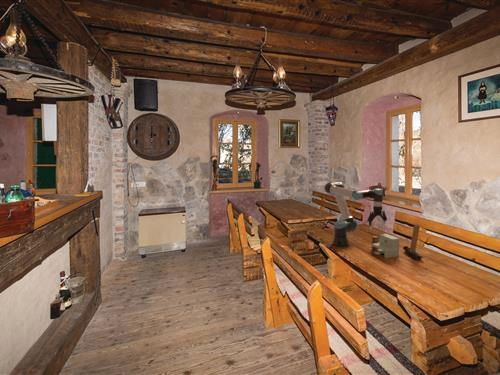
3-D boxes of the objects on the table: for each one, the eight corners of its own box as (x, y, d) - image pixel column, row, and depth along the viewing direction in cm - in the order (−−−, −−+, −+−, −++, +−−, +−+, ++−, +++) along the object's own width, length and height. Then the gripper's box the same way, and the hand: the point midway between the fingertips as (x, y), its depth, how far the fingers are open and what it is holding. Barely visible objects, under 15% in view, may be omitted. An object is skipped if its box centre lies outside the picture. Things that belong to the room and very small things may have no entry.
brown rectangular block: (371, 248, 254) (372, 236, 252) (375, 248, 255) (375, 236, 254) (386, 255, 237) (387, 242, 235) (390, 254, 238) (390, 241, 237)
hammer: (422, 262, 225) (428, 230, 216) (416, 262, 225) (421, 230, 216) (408, 250, 244) (413, 219, 235) (402, 250, 244) (407, 220, 235)
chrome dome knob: (372, 253, 243) (372, 251, 243) (378, 252, 245) (378, 250, 245) (377, 255, 238) (377, 253, 238) (383, 254, 239) (383, 253, 239)
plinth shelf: (372, 252, 246) (372, 235, 244) (384, 250, 250) (385, 233, 248) (385, 258, 230) (386, 240, 228) (398, 256, 234) (399, 238, 233)
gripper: (369, 207, 238) (368, 230, 241) (392, 205, 245) (391, 228, 248) (363, 206, 245) (362, 228, 248) (385, 203, 252) (384, 225, 255)
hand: (376, 228), depth 248 cm, fingers open, 13 cm apart
